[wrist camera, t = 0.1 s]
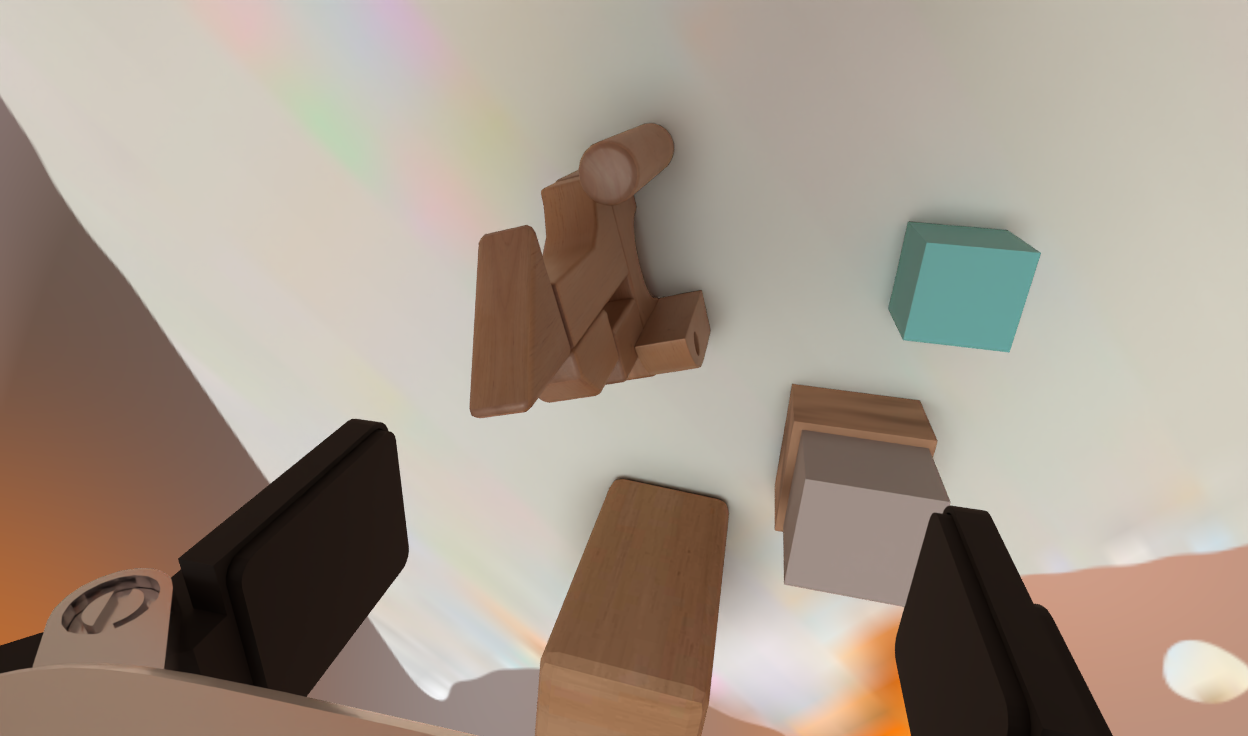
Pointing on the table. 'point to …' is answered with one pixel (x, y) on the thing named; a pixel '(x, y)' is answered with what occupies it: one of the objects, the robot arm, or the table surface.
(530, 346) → the wooden toy
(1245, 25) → the table surface
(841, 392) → the tower base
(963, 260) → the teal cube
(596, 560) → the wooden block
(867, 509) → the tower mid
